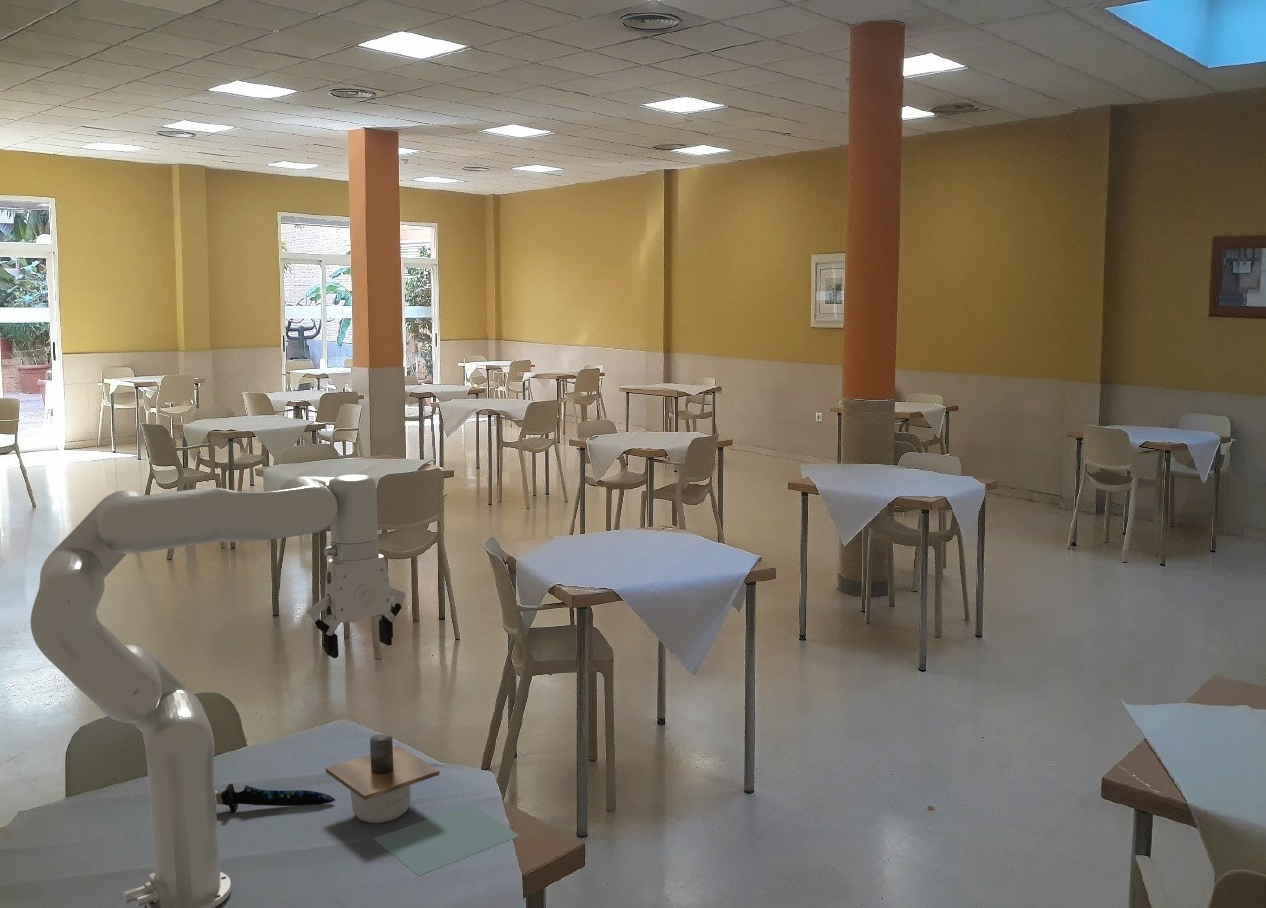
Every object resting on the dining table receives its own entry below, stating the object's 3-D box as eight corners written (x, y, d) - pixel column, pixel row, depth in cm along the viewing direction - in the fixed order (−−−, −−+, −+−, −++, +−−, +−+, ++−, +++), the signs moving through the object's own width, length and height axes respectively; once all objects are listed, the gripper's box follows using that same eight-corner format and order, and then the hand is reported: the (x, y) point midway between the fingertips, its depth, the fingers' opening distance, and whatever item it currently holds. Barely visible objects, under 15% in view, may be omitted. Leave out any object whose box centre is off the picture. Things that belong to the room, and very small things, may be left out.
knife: (163, 808, 198) (164, 786, 197) (169, 801, 201) (170, 778, 200) (331, 820, 200) (332, 797, 200) (334, 812, 203) (336, 790, 203)
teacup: (396, 834, 191) (394, 792, 190) (340, 829, 193) (338, 787, 192) (426, 799, 204) (425, 759, 203) (373, 794, 206) (372, 754, 205)
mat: (419, 881, 175) (419, 875, 175) (373, 844, 187) (373, 838, 187) (520, 841, 188) (519, 835, 188) (470, 808, 200) (470, 803, 200)
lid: (364, 800, 187) (363, 763, 186) (325, 772, 198) (324, 737, 197) (439, 774, 197) (438, 739, 196) (398, 749, 208) (397, 716, 207)
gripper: (315, 562, 168) (320, 667, 171) (413, 545, 180) (416, 644, 182) (295, 554, 174) (300, 655, 177) (391, 538, 185) (395, 633, 188)
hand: (359, 649), depth 179 cm, fingers open, 9 cm apart
